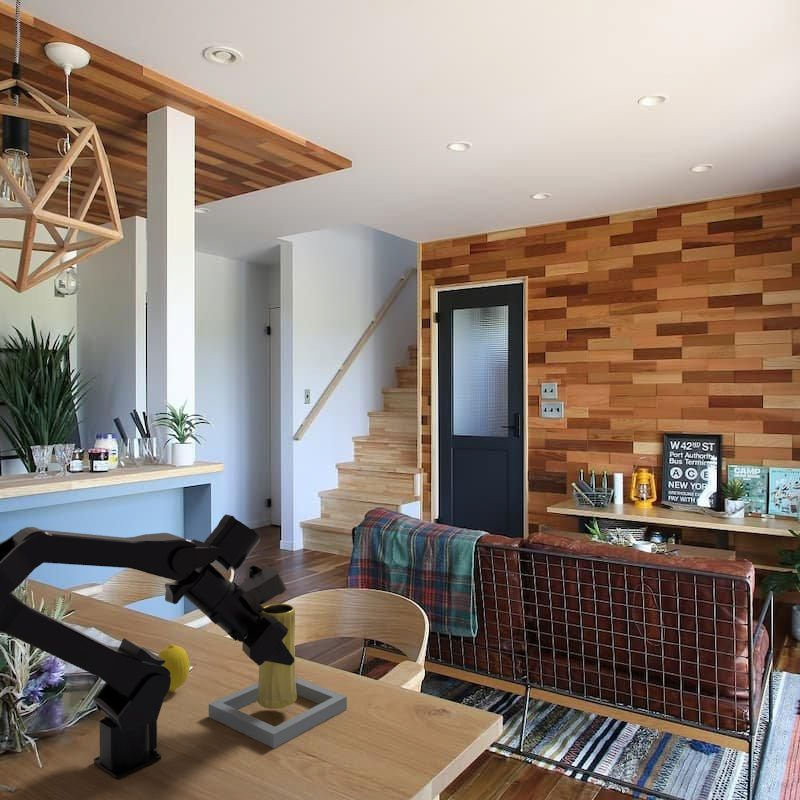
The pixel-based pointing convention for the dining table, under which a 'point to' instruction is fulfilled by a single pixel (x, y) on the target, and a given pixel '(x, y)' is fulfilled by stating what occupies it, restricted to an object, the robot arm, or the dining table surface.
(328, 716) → the stand
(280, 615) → the vase
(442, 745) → the dining table surface
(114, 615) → the dining table surface
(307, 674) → the dining table surface
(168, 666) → the lemon
